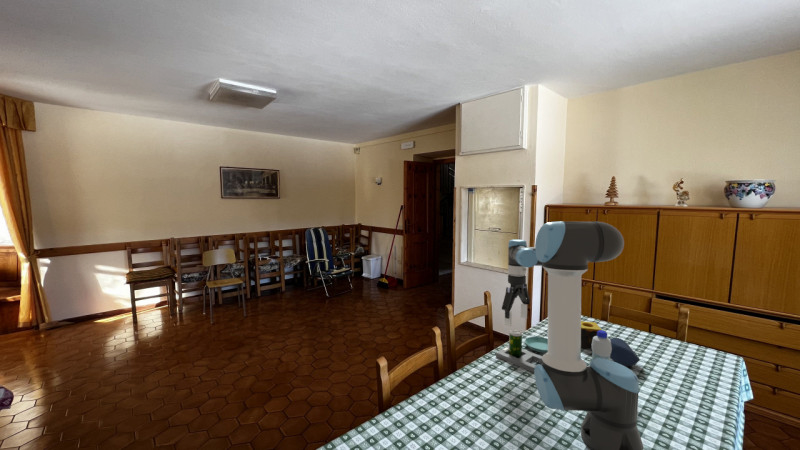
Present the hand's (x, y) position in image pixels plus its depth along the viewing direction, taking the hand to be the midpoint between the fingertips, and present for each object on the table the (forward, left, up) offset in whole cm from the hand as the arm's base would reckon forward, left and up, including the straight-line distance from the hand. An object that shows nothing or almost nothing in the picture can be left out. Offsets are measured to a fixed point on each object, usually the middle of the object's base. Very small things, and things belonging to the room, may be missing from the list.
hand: (516, 321), depth 141 cm
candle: (+38, -16, -17) cm, 45 cm away
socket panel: (0, -5, -17) cm, 17 cm away
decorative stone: (+29, -33, -17) cm, 47 cm away
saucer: (+18, -3, -17) cm, 25 cm away
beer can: (0, 0, -17) cm, 17 cm away
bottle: (+8, -31, -17) cm, 37 cm away
